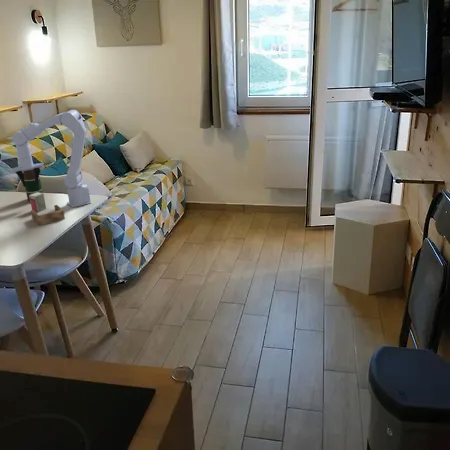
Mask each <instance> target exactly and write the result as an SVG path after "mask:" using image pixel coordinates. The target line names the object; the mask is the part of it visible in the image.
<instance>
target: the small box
mask: <svg viewBox="0 0 450 450" xmlns="http://www.w3.org/2000/svg"><path fill="white" fill-rule="evenodd" d="M29 198H30V201H29V202H30V205H31V211H32V210H34V211H35V212H36V213H39V212H42V211H44V210H46V209H47V206H46V200H45V196H44V193H39V192H37V193H34V194H31V195H29Z"/></svg>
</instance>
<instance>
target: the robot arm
mask: <svg viewBox="0 0 450 450" xmlns="http://www.w3.org/2000/svg"><path fill="white" fill-rule="evenodd" d="M55 125H59V126H62V125H63V126H64V127H65V128H67V129H68V130H70V131H71V132H72V133H73V142H72V148H71V154H70V161H69V167H68V170H67V172H66V176H65V177H64V179H63V183H64V186H65V187H66V191H67V197H68V201H67V202H66V204H67V205H68V206H69V207H71V208H76V207H80V206H85V205H89V204H92V202H91V196H90V189H89V188H88V185H87V184H86V183H84V184H83V183H82V180H83V174H82V173H83V172H82V170H83V169H82V162H83V156H84V149H85V143H86V138H87V137H86V136H87V129H86V126H85V123H84V121H83V116H82V114H80V112H79V111H78V110H76V109H69V110H68V111H64V112H61V113H58V114H56V115H54V116H52V117H51V118H48V119H46V120H44V121H43V122H41V123H36V122H34V123H33V122H31V123H30V124H28V126H26V127H25V128H24V127H22V128H20V130H18V131H16V132H15V133H13V134H12V137H11V138H12V139H11V140H12V141H13V143H14V144H15V147H16V152H17V156H18V157H17V158H18V161H19V166H16V167H12V168H9V169H10V174H16V175H17V176H18V178H19V179H20V181H21V183H22V186H23V187H24V188H25V187H26V184H25V181H24V174H23V172H24V171H27V170H32V169H33V173H34V177H35V183H36V184H38V178H39V177H40V174H41V169H45V165H44V163H41V162H39V163H34V161H33V157H32V153H31V152H32V150H31V146H30V142H29V141H32V140H34V139H35V138H37V137H40V136H41V135H43V132H44V131H45V130H46V129H48V128H51V127H53V126H55Z"/></svg>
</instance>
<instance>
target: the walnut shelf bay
mask: <svg viewBox="0 0 450 450" xmlns="http://www.w3.org/2000/svg"><path fill="white" fill-rule="evenodd" d="M53 208H54V211H52V212H47V213H43V214H38V212H35V211H34V210H32V209H31V210H30V214H31V220H32V221H34V223H35V224H36V225H37V226H41V225H46V224H50V223H55V222H57V221H62V220H65V219H66V217H65V212H64V210H63V209H62V208H61V207H60V206H59V205H58V204H54V207H53Z"/></svg>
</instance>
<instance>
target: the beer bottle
mask: <svg viewBox="0 0 450 450" xmlns="http://www.w3.org/2000/svg"><path fill="white" fill-rule="evenodd" d="M22 172H23V174H24V181H25V184H26V187H24V188H25V195H26V198H27V200H28V201H29V202H30V198H29V195H31V194H34V193H37V192H39V193H43V188H42V182H41V177H40V176H39V178H38V184H36V183H35V177H34V173H33V169H32V170H27V171H22ZM43 194H44V193H43Z"/></svg>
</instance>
